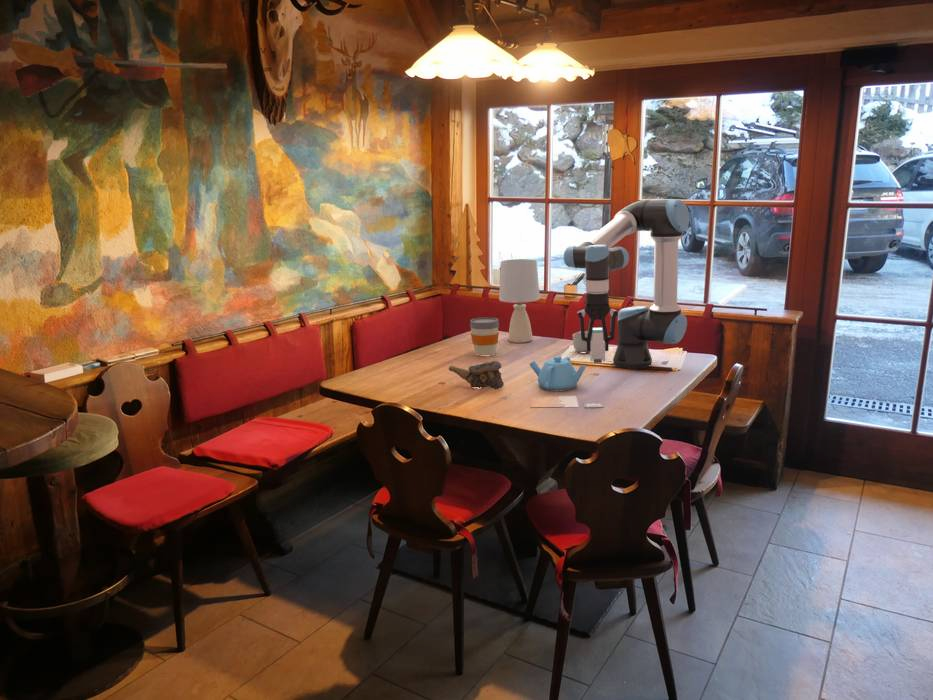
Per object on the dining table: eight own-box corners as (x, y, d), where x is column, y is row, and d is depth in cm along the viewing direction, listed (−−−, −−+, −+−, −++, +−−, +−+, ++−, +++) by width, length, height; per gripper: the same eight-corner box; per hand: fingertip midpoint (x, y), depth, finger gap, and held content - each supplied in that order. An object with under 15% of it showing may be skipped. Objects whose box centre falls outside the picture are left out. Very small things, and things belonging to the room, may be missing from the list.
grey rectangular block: (602, 360, 259) (602, 327, 257) (603, 363, 256) (603, 329, 253) (592, 360, 260) (591, 327, 257) (592, 363, 256) (592, 330, 253)
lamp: (529, 346, 342) (528, 264, 333) (493, 343, 351) (490, 263, 342) (547, 338, 357) (545, 259, 349) (511, 335, 366) (509, 258, 358)
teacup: (599, 354, 322) (599, 335, 321) (574, 355, 323) (574, 336, 321) (594, 346, 336) (594, 329, 334) (570, 347, 336) (570, 330, 334)
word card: (601, 404, 255) (601, 403, 255) (603, 407, 251) (603, 406, 251) (583, 404, 255) (583, 403, 255) (584, 408, 251) (584, 407, 251)
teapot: (565, 377, 289) (565, 349, 286) (587, 389, 273) (587, 359, 270) (528, 382, 284) (527, 353, 281) (548, 395, 268) (547, 364, 265)
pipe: (500, 392, 273) (500, 365, 271) (443, 389, 280) (442, 363, 277) (506, 385, 282) (506, 359, 279) (451, 382, 288) (450, 357, 286)
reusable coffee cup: (468, 357, 326) (466, 322, 323) (474, 350, 338) (473, 317, 335) (497, 357, 324) (496, 323, 320) (502, 350, 336) (501, 317, 332)
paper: (576, 396, 264) (576, 396, 264) (578, 407, 252) (578, 406, 252) (529, 397, 265) (529, 396, 265) (530, 407, 254) (530, 407, 254)
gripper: (621, 289, 255) (620, 356, 261) (571, 290, 256) (572, 358, 262) (623, 293, 248) (623, 362, 253) (572, 294, 249) (573, 363, 255)
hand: (597, 360), depth 258 cm, fingers closed on grey rectangular block, 3 cm apart
